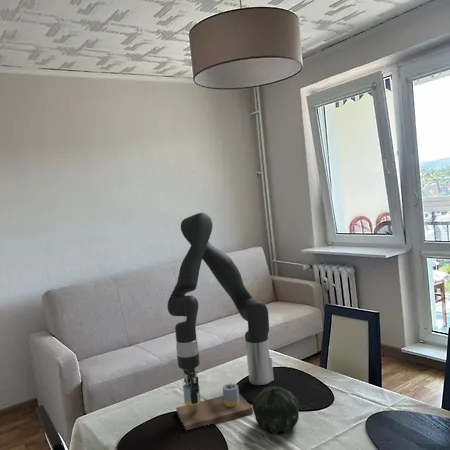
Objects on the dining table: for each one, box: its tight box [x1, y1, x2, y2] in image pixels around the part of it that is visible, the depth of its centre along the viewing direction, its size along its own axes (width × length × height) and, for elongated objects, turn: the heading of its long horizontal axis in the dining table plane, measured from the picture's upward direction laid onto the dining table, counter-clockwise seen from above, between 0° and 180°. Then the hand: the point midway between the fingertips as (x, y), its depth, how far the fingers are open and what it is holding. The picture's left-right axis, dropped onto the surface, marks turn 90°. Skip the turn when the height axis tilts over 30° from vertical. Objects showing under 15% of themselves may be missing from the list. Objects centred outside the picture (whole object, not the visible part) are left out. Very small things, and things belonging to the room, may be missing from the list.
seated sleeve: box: [222, 383, 240, 407], centre depth 160 cm, size 5×5×6 cm
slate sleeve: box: [182, 383, 202, 406], centre depth 155 cm, size 5×5×6 cm
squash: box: [252, 385, 300, 435], centre depth 144 cm, size 14×15×15 cm
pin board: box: [175, 383, 254, 431], centre depth 158 cm, size 24×14×9 cm, turn 109°
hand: (192, 399), depth 156 cm, fingers closed on slate sleeve, 5 cm apart
